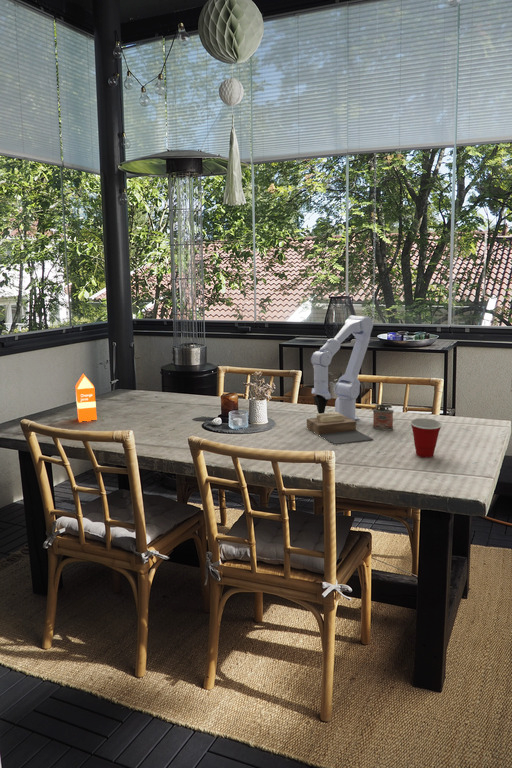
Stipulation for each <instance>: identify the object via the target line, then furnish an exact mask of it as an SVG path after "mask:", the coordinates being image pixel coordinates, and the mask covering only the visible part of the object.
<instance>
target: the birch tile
mask: <svg viewBox="0 0 512 768" xmlns="http://www.w3.org/2000/svg"><path fill="white" fill-rule="evenodd" d="M316 418H317V419H318V420H319V421H321V422H331V421H340V420H344V415H342V414H340V413H338V412H335V411H334V412H333V411H332V412H324V413H321V414H319V413H317V414H316Z"/></svg>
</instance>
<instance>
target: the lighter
mask: <svg viewBox="0 0 512 768" xmlns="http://www.w3.org/2000/svg"><path fill="white" fill-rule="evenodd" d="M375 407H376V408H373V410H372V412H373V414H372V415H373V420H372V421H373V425H372V428H373V429H374V428H375V430H386V429H387V430H388V429H391V430H393V429H394V426H393V425H394V424H393V423H394V419H393V417H394V409H392V408H393V407H392V404H390V403H389V404H388V403H386V404H384V403H381V404H378V403H376V405H375ZM388 431H389V430H388Z"/></svg>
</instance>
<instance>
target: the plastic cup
mask: <svg viewBox="0 0 512 768" xmlns="http://www.w3.org/2000/svg"><path fill="white" fill-rule="evenodd" d="M409 422H410V426H411V429H412V434H413V435H412V436H413V445H414V447H415V449H414V450H415V454H416V456H417V457H420V458H426V459H428V458H432V457H434V456H435V450H436V447H437V442H438V438H439V433H440V430H441V428H442V427H443V422H441V421H440V420H437V419H435V418H434V419H432V418H423V417H419V418H413V419H411V420H409Z"/></svg>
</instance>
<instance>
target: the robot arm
mask: <svg viewBox="0 0 512 768" xmlns="http://www.w3.org/2000/svg"><path fill="white" fill-rule="evenodd" d="M373 328H374V323H373V320H372V318H371V316H361V315H353V314H352V315H349V316H348V317H347V319H346V320H345V322H344V325H343V326H342V328H340V330H339V331H338V332H337V334H336V335H335V336H334V338H329V339H327V340H326V342H325V343H324V344H323V346H321V347H320V348H319V350H316V351H315V352H313V353H312V355H311V358H310V362H311V364H312V368H313V387H312V388H311V394H312V395H314V396H312V398H313V400H314V402H315V405H316V408H317V414H323V413H326V411H325V410H326V407H327V404H328V402H329V400H331V398H332V394H331V393H330V392H329V365H331V362H332V359H333V357H334V355H336V353H337V352H338V351H339V350H340V349H341V344H342V343H343V342H344V341H345V340H346V339H347V338H348V337H349V336H351V334H352V336H354V338H355V343H354V345H353V348H352V351H351V354H350V357H349V361H348V362H347V363H348V364H347V366H346V369H345V373H344V374H342V375H341V376H340V377H339V378H338V381H337V382H336V384H335V385H334V388H333V389H334V393H335V394H336V397H337V398H336V399H335V402H334V412H338V413H340V414H342V415H344V416H346V417H348V418H350V419H352V420H354V421H356V420H360V418H359V417H357V416H356V402H357V401H356V399H357V398H358V396H360V390H361V389H360V387H361V384H362V383H361V381H360V380H359V379H358V376H359V374H360V370H361V367H362V364H363V361H364V358H365V355H366V352H367V350H368V347H369V344H370V341H371V333H372V331H373Z"/></svg>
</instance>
